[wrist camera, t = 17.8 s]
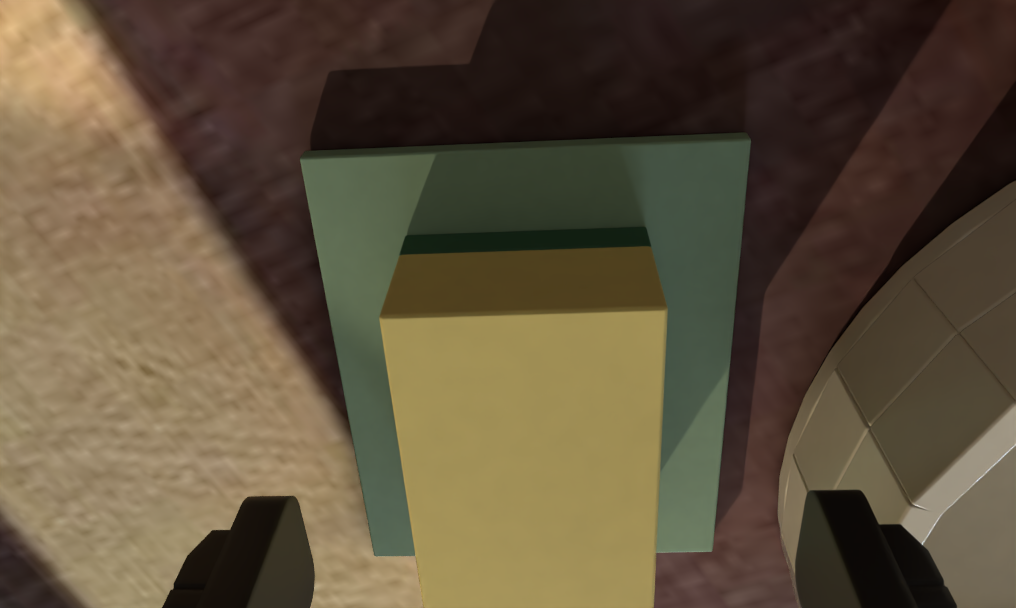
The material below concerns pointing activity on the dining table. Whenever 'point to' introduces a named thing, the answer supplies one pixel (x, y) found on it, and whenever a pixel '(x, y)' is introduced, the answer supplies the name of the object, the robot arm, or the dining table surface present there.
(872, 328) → the wash bowl
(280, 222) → the dining table surface
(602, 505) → the sponge
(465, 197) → the mat
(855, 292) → the dining table surface
